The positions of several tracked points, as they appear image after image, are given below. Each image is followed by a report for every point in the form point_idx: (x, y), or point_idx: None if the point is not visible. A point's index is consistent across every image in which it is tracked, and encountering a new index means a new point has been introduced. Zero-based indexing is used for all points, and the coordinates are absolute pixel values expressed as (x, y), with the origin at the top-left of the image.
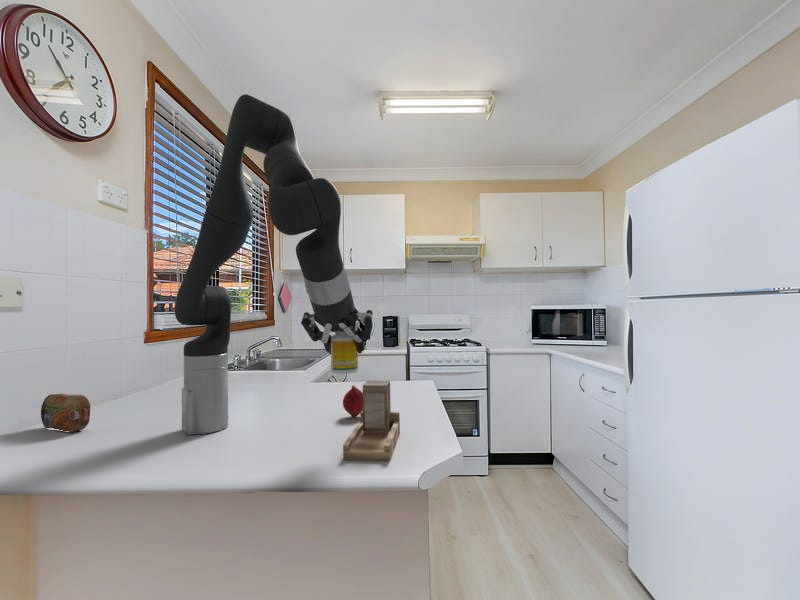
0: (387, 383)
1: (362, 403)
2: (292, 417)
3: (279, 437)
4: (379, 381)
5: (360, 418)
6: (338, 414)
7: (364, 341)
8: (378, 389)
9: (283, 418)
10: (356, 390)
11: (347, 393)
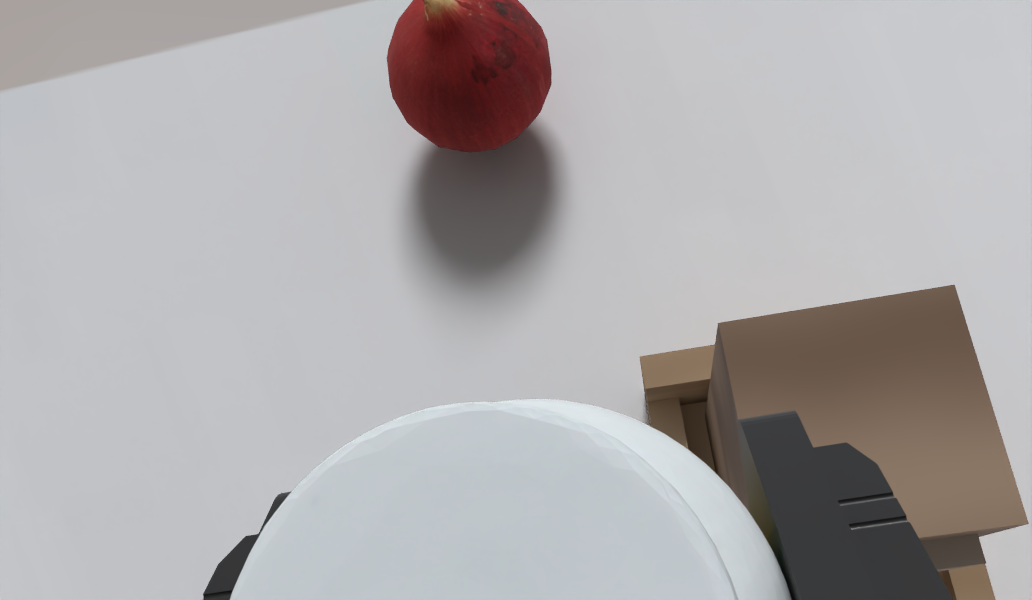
0: (988, 419)
1: (539, 93)
2: (118, 214)
3: (186, 591)
4: (857, 333)
5: (647, 398)
6: (369, 95)
7: (902, 512)
8: (925, 538)
9: (73, 244)
10: (473, 30)
11: (412, 62)
